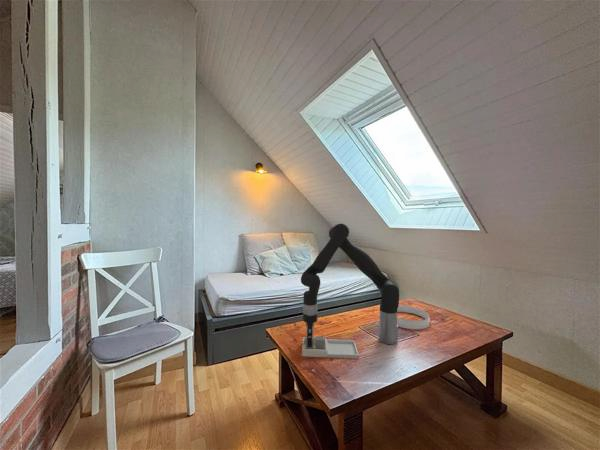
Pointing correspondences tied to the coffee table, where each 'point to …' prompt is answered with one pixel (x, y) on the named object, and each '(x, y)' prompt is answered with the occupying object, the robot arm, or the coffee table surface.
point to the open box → (314, 351)
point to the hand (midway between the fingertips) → (309, 342)
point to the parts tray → (341, 348)
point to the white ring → (409, 323)
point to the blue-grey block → (319, 343)
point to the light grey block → (312, 343)
